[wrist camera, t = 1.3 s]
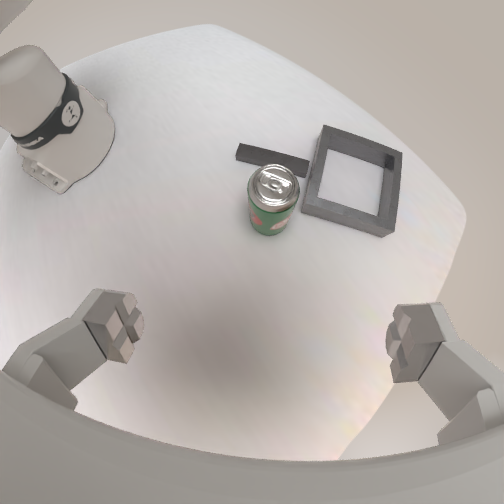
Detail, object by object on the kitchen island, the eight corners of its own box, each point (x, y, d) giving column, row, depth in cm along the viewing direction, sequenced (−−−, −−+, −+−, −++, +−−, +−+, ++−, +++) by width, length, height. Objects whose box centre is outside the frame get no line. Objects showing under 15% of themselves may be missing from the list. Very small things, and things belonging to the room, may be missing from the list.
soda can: (275, 243, 37) (283, 220, 25) (242, 223, 38) (236, 192, 26) (295, 212, 38) (310, 177, 26) (263, 192, 38) (265, 151, 26)
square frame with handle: (225, 192, 38) (222, 181, 34) (250, 121, 40) (249, 106, 36) (382, 237, 37) (394, 231, 33) (391, 163, 39) (402, 152, 35)
